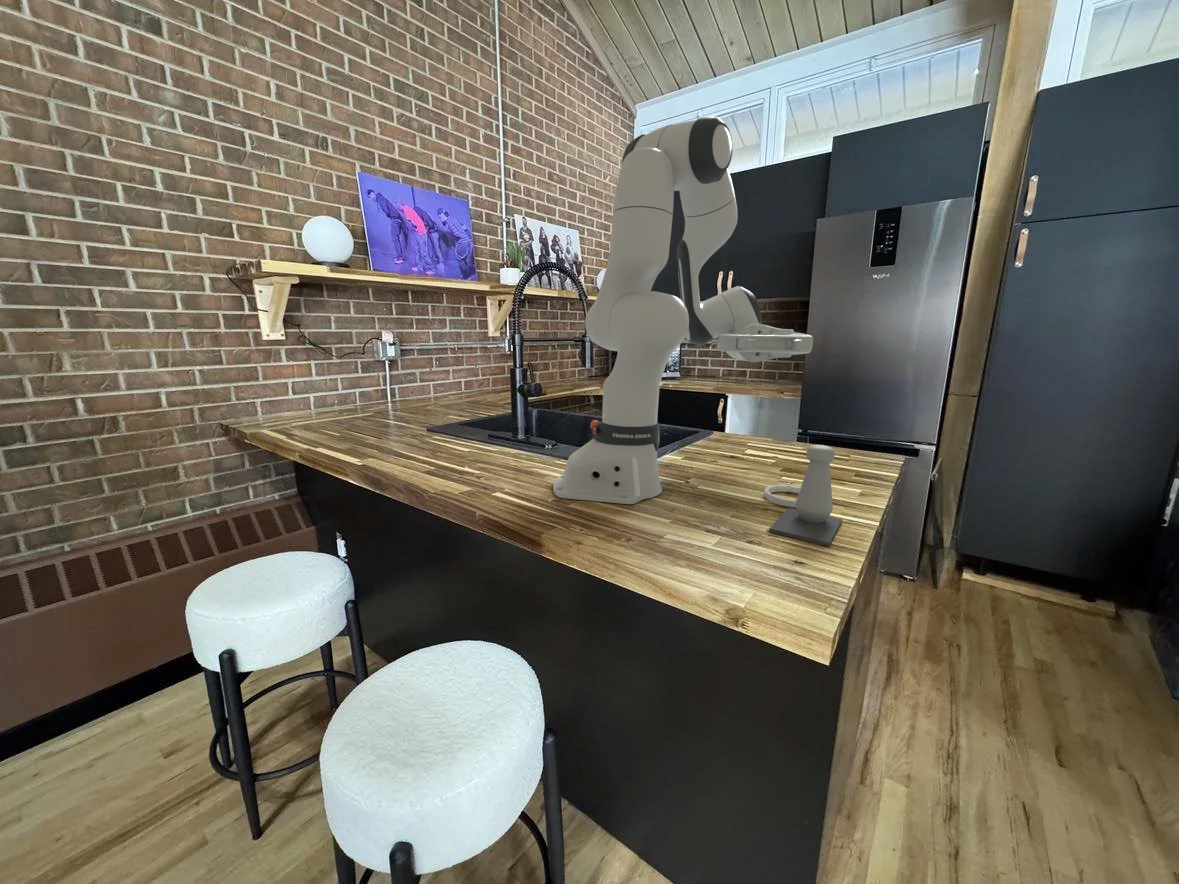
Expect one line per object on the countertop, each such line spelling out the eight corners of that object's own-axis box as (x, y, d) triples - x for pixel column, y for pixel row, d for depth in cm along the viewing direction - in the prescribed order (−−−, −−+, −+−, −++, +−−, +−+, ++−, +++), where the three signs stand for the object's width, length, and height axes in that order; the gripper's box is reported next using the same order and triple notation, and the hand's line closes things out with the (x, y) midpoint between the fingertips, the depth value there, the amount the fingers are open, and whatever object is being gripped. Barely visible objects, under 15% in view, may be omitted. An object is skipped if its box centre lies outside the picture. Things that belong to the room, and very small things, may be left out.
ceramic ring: (774, 506, 89) (775, 500, 89) (757, 489, 99) (758, 484, 99) (828, 508, 89) (829, 502, 89) (805, 491, 99) (806, 485, 98)
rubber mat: (829, 546, 73) (829, 542, 73) (769, 531, 78) (769, 528, 78) (841, 522, 82) (842, 519, 82) (787, 510, 87) (788, 507, 87)
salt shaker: (834, 527, 78) (844, 451, 76) (797, 523, 80) (806, 449, 77) (826, 514, 84) (835, 443, 81) (791, 511, 85) (799, 441, 82)
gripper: (710, 328, 111) (726, 327, 97) (798, 329, 110) (826, 329, 97) (709, 355, 112) (723, 358, 99) (795, 357, 112) (822, 360, 98)
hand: (775, 344), depth 98 cm, fingers open, 8 cm apart
